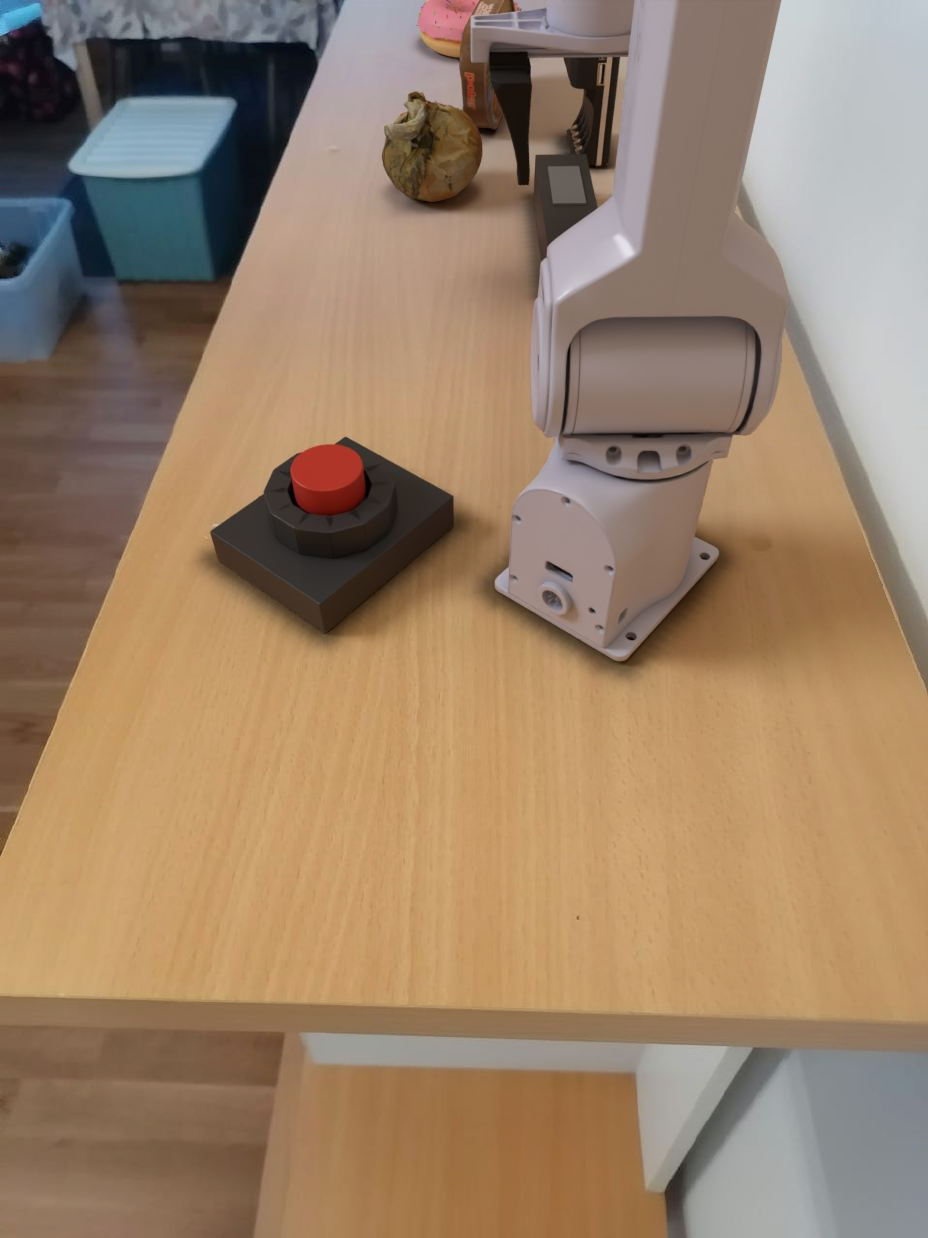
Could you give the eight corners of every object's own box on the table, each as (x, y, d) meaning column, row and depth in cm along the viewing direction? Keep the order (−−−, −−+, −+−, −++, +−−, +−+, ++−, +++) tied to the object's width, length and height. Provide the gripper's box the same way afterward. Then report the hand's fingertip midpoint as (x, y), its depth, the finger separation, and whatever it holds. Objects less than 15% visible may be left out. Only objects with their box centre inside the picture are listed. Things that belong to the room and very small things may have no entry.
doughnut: (449, 71, 95) (448, 24, 92) (400, 37, 101) (397, -8, 98) (542, 51, 98) (544, 5, 95) (488, 19, 105) (489, -25, 101)
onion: (485, 213, 75) (487, 106, 69) (384, 217, 75) (377, 110, 69) (478, 170, 80) (479, 67, 74) (383, 174, 80) (376, 70, 74)
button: (330, 527, 47) (326, 500, 45) (280, 496, 48) (275, 469, 47) (380, 489, 49) (378, 463, 47) (330, 460, 50) (326, 434, 49)
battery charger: (556, 135, 85) (566, -13, 76) (598, 134, 85) (613, -14, 76) (564, 170, 80) (575, 16, 72) (609, 169, 80) (625, 15, 72)
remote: (601, 296, 67) (607, 247, 64) (545, 297, 67) (548, 248, 64) (582, 197, 77) (586, 151, 74) (533, 198, 77) (535, 151, 74)
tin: (490, 145, 84) (491, 38, 77) (455, 142, 84) (453, 35, 78) (518, 80, 93) (521, -20, 87) (486, 77, 94) (487, -22, 87)
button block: (324, 634, 47) (314, 579, 44) (217, 561, 50) (201, 504, 47) (454, 525, 52) (453, 469, 49) (349, 465, 55) (342, 409, 52)
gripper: (721, -93, 55) (682, 149, 65) (469, -90, 55) (470, 152, 65) (746, -57, 50) (699, 198, 60) (471, -54, 50) (471, 200, 60)
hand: (581, 177), depth 62 cm, fingers open, 7 cm apart
